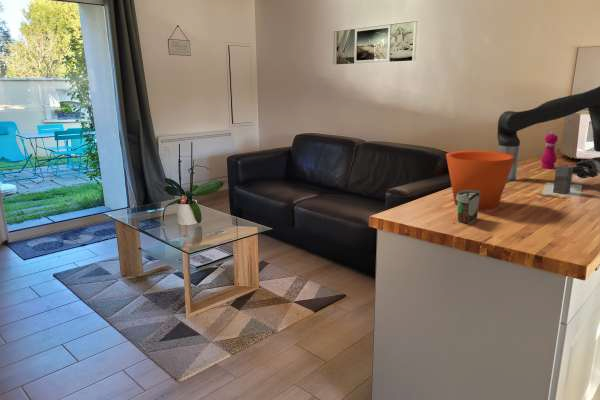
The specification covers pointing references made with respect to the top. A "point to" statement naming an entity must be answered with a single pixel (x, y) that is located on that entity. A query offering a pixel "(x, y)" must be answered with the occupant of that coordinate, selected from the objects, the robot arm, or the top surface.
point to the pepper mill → (549, 151)
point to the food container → (467, 205)
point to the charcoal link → (563, 179)
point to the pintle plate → (574, 192)
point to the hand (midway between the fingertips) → (570, 173)
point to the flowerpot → (480, 174)
